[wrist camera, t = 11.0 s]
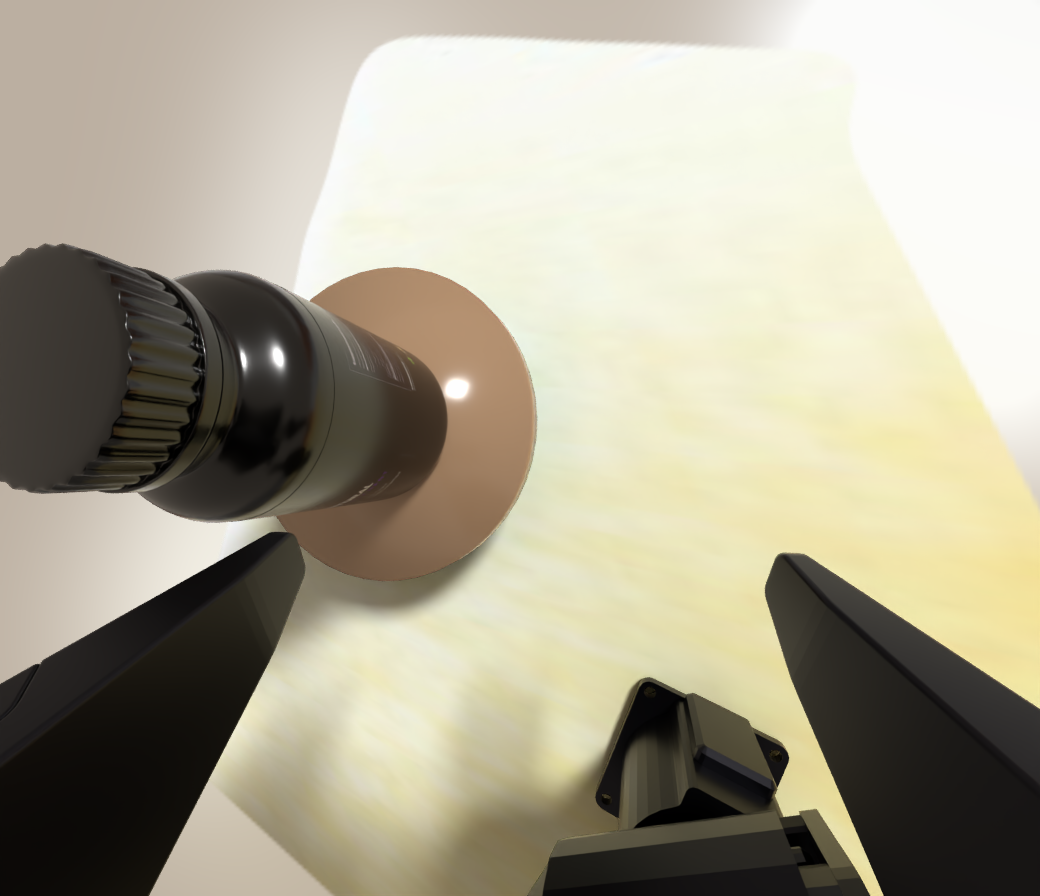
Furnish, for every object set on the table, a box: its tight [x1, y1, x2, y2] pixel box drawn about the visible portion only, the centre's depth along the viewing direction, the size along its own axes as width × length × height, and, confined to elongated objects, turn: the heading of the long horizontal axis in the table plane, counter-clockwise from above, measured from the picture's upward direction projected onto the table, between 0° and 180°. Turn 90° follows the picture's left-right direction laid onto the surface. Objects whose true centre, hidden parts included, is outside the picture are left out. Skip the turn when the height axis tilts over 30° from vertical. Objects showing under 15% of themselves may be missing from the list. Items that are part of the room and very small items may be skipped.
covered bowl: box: [277, 267, 537, 581], centre depth 22 cm, size 14×14×4 cm
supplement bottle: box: [0, 244, 448, 523], centre depth 14 cm, size 7×7×12 cm
